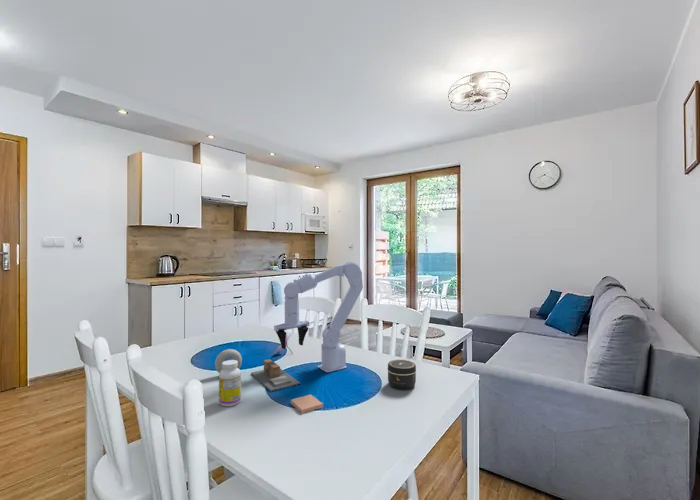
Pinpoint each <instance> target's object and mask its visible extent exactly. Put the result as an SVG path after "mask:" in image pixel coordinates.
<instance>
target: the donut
mask: <svg viewBox="0 0 700 500" xmlns="http://www.w3.org/2000/svg"><path fill="white" fill-rule="evenodd" d="M227 359H231V360H237V361H238V365H237V368H239V369H240V368H241V367H242V363H243V362H242V361H243V357H242V355H241V353H240V352H239V351H237V350H236V349H232V348H227V349H224V350H223V351H220V353H219V354H217V356H216V358H215V359H214V360H215V361H214V367H215V370H216V372H217V373H218V374H219V373H220V371H222V370H223V368H222V363H223V362H224V361H227Z"/></svg>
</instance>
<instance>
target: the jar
mask: <svg viewBox="0 0 700 500" xmlns="http://www.w3.org/2000/svg"><path fill="white" fill-rule="evenodd" d="M416 373H417V366H416V364H415V362H413V361H412V360H411V361H410V360H407V359H394V360H390V361H389V362H388V363H387V381H388V385H389V386H390V387H391V388H392V389H395V390H399V391H407V390H412V389H413V388H414V387H415V385H416V381H417V378H416V377H417V374H416Z"/></svg>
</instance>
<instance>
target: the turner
mask: <svg viewBox="0 0 700 500" xmlns="http://www.w3.org/2000/svg"><path fill="white" fill-rule="evenodd" d="M280 369H281V365H279V364H277V363H276V362H275V361H273V360H271V359H264V360H263V370H264V372H265V373H266V374H267V375H268V376H270V377H271V379H269V381H270V382H271V383H272V384H273V385H274V386H275V387H277V386H281V385H285V384H289V383H291V380H290V379H289V378H287V377H286V376H285V375H284V376H280Z"/></svg>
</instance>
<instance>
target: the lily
mask: <svg viewBox="0 0 700 500" xmlns="http://www.w3.org/2000/svg"><path fill="white" fill-rule="evenodd" d="M291 336H292V334H289V336H288V334H286V340H285V343H286V347H285V349H286V348H288V350H289V351H290V353H291V355H294V353H293V351H292V350H291V348H290V347H289V339H290V337H291ZM282 349H283V348H282V347H281V344H280V345H279V346H278V347H277V349H276V350H275V351H274V353H273V354H272V356H274V355H275V354H276V353H277V352H278V351H279V352H281V351H282Z"/></svg>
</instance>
